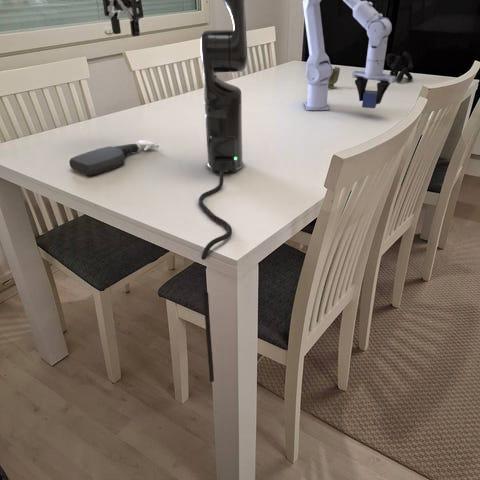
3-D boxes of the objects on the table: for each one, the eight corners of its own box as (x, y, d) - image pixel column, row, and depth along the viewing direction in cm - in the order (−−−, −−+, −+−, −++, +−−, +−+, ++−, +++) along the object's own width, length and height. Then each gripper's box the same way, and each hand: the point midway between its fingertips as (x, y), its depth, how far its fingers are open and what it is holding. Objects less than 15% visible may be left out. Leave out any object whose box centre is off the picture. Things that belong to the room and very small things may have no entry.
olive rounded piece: (318, 88, 189) (319, 68, 185) (323, 85, 195) (325, 65, 190) (335, 90, 186) (337, 70, 182) (340, 86, 192) (342, 67, 187)
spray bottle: (67, 168, 120) (139, 144, 136) (91, 178, 114) (163, 151, 130) (65, 157, 118) (137, 134, 134) (89, 167, 112) (162, 142, 128)
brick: (376, 104, 155) (378, 90, 152) (375, 108, 151) (377, 94, 148) (363, 103, 156) (365, 90, 153) (361, 107, 152) (363, 93, 150)
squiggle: (400, 92, 202) (376, 71, 205) (417, 76, 202) (392, 56, 205) (405, 81, 191) (380, 59, 194) (423, 64, 191) (397, 42, 194)
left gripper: (145, -34, 114) (153, 35, 122) (112, -34, 122) (121, 31, 130) (121, -34, 109) (131, 38, 118) (88, -33, 117) (100, 34, 126)
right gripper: (402, 60, 144) (395, 102, 151) (361, 55, 152) (356, 96, 159) (392, 63, 139) (385, 107, 147) (351, 58, 148) (346, 100, 155)
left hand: (126, 34), depth 124 cm, fingers open, 8 cm apart
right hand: (369, 102), depth 153 cm, fingers closed on brick, 5 cm apart
